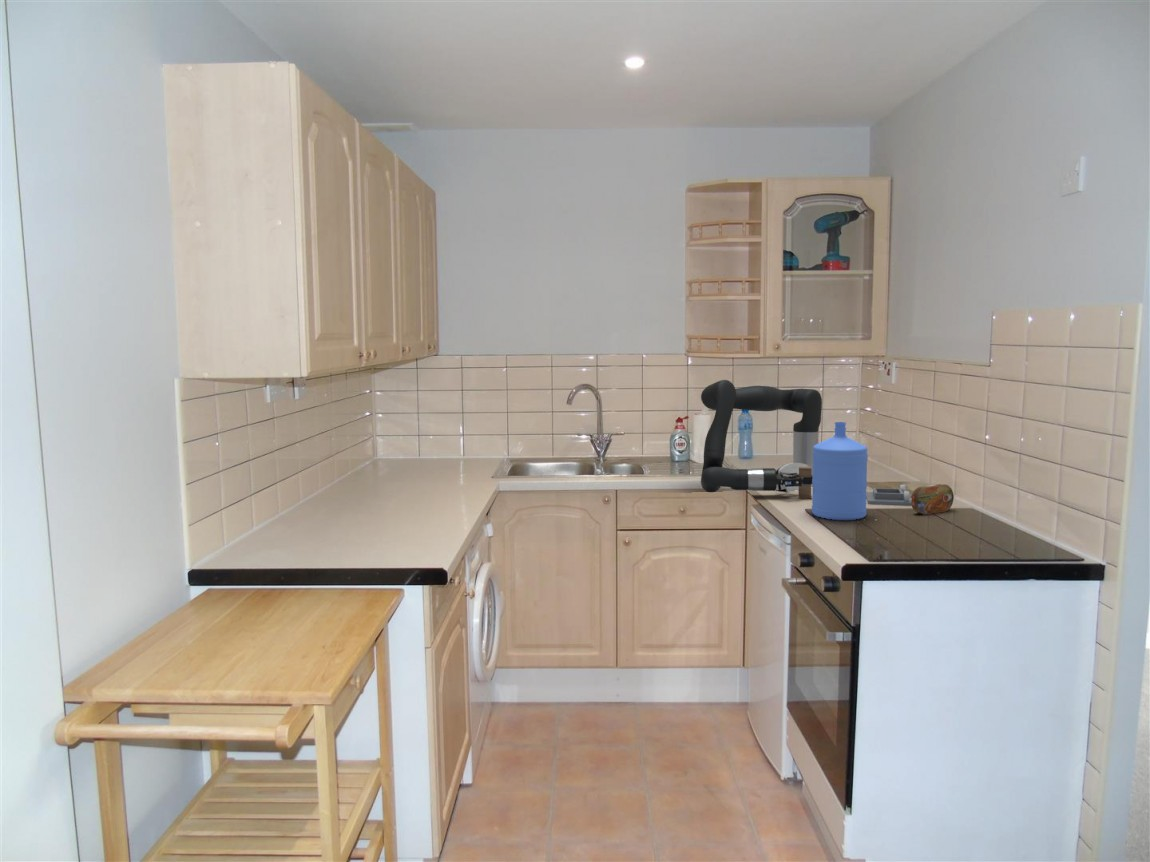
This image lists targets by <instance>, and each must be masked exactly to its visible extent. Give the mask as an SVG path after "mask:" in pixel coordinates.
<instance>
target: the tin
mask: <svg viewBox="0 0 1150 862" xmlns="http://www.w3.org/2000/svg"><path fill="white" fill-rule="evenodd" d="M954 498H955V497H954V492H953V490H952V488H951V487H950V486H949V485H948V484H941V483H940V484H930V485H923V486H919V487H916V488H915V489H914V490H913V491H912V494H911V498H910V499H911V503H912V506H911V507H912V509H913V511H914V512H916V513H917V514H920V515H921V514H922V515H925V516H926V514H928V515H932V514H933V513H934V514H939V513H940V514H941V513H945V512H947V511H949V510H950V509H951V508H952V505H953V503H954Z"/></svg>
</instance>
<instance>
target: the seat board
mask: <svg viewBox="0 0 1150 862" xmlns="http://www.w3.org/2000/svg"><path fill="white" fill-rule="evenodd" d="M911 499H912V498H910V491H908V490H906V484H900V486H899V488H882V487H873V488H872V491H866V503H867V504H868V505H880V504H881V505H885V506H886V505H887V506H911V507H912V503H911Z"/></svg>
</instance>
